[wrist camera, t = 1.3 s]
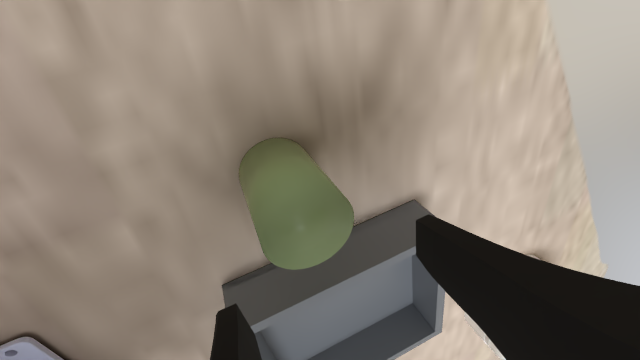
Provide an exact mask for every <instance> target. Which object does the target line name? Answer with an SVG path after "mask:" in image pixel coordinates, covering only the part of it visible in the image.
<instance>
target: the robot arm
mask: <svg viewBox="0 0 640 360" xmlns="http://www.w3.org/2000/svg"><path fill="white" fill-rule="evenodd" d="M416 256H417V257H418V259H419V260H420V262H421V263H422V264H423V266H424V267H425V268H426V270H427V271H428V272H429V274H430V275H431V276H432V277H433V278H434V280H435V281H436V282H437V283H438V284H439V285H440V286H441V287H442V288H443V289H444V290H445V291H446V292H447V293H448V295H449V296H450V297H451V298H452V299H453V300H454V301H455V302H456V303H457V304H458V305H459V306H460V307H461V308H462V309H463V310H464V311H465V312H466V313H467V314H468V315H469V316H470V318H471V319H472V320H473V321H474V322H475V323H476V324H477V325H478V326H479V327H480V328H481V329H482V331H483V332H484V333H485V334H486V335H487V336H488V338H489V339H490V340H491V341H492V343H493V344H494V345H495V346H496V348H497V349H498V350H499V351H500V353H501V354H502V355H503V356H504V358H505V359H506V360H640V286H636V285H631V284H627V283H623V282H618V281H614V280H610V279H605V278H601V277H597V276H594V275H590V274H586V273H582V272H578V271H575V270H571V269H568V268H564V267H561V266H558V265H554V264H551V263H548V262H545V261H542V260H539V259H536V258H533V257H530V256H527V255H524V254H522V253H519V252H516V251H514V250H511V249H508V248H506V247H503V246H501V245H498V244H496V243H493V242H491V241H488V240H486V239H484V238H481V237H479V236H477V235H474V234H472V233H470V232H467V231H465V230H463V229H461V228H459V227H456V226H454V225H452V224H450V223H448V222H445V221H443V220H441V219H439V218H437V217H434V216H432V215H430V214H428V215H426V216H424V217H421V218H419V219H417V220H416ZM0 360H64V359H62V358H61V357H59V356H58V355H56V354H55V353H54V352H52V351H51V350H49V349H48V348H46V347H45V346H43V345H42V344H41V343H39V342H38V341H36V340H35V339H33V338H31V337H21V338H18V339H15V340H13V341H10V342H8V343H6V344H3V345H1V346H0ZM210 360H262V358H261V354H260V350H259V347H258V343H257V340H256V336H255V334H254V332H253V330H252V329H251V327H250V325H249V324H248V322H247V320H246V319H245V317H244V315H243V314H242V312H241V310H240V309H239V307H238V305H237V304H236V303H235V304H233V305H231V306H229V307H227V308H225V309H222V310H220V311H218V313H217V315H216V324H215V332H214V339H213V345H212V351H211V357H210Z"/></svg>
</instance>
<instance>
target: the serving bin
mask: <svg viewBox="0 0 640 360" xmlns="http://www.w3.org/2000/svg"><path fill="white" fill-rule="evenodd" d="M428 214H430V215H432V216H434V215H433V214H431V213H430V212H429V211H428V210H427V209H425V208H424V207H423V206H422V205H421V204H419V203H418V202H417V201H416V200H413V201H410V202H408V203H406V204H404V205H401V206H399V207H397V208H395V209H392V210H390V211H388V212H386V213H383V214H381V215H379V216H377V217H375V218H372V219H370V220H368V221H366V222H363V223H361V224H359V225H357V226H354V227H353V228H352V231H351V233H350V236H349V238H348V239H347V241H346V242H345V244H344V245H343V246H342V247H341V248H340V250H339V251H338V252H336V253H335V254H334V255H333V256H332V257H330V258H329V259H327V260H326V261H324V262H322V263H320V264H318V265H315V266H313V267H309V268H305V269H298V270H291V269H285V268H281V267H278V266H276V265H274V264H273V263H271V264H269V265H267V266H265V267H262V268H260V269H258V270H256V271H253V272H251V273H249V274H247V275H244V276H242V277H240V278H238V279H235V280H233V281H231V282H229V283H227V284H224V285H222V288H223V295H224V302H225V308H227V307H229V306H231V305H233V304H235V303H236V304H237V305H238V307H239V309H240V310H241V312H242V314H243V315H244V317H245V319H246V320H247V322H248V324H249V325H250V327H251V329H252V330H253V332H254V334H255V336H256V340H257V343H258V347H259V350H260V354H261V358H262V360H394V359H396V358H398V357H399V356H401V355H403V354H405V353H406V352H408V351H410V350H412V349H413V348H415V347H417V346H419V345H420V344H422V343H424V342H426V341H427V340H429V339H431V338H432V337H434V336H436V335H438V334H439V333H441V332H442V323H443V311H444V299H445V290H444V289H443V288H442V287H441V286H440V285H439V284H438V283H437V282H436V281H435V280H434V278H433V277H432V276H431V275H430V274H429V272H428V271H427V270H426V268H425V267H424V266H423V264H422V263H421V262H420V260H419V259H418V257H417V256H416V220H417V219H419V218H421V217H424V216H426V215H428ZM434 217H435V216H434Z"/></svg>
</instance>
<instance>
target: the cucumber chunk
mask: <svg viewBox="0 0 640 360" xmlns="http://www.w3.org/2000/svg"><path fill="white" fill-rule="evenodd" d="M239 181H240V184H241V187H242V190H243V193H244V196H245V199H246V202H247V205H248V208H249V211H250V214H251V217H252V220H253V223H254V226H255V229H256V232H257V235H258V238H259V241H260V244H261V247H262V250H263V253H264V254H265V256H266V257H267V259H268V260H269V261H270V262H272V263H273V264H274V265H276V266H278V267H281V268H285V269H291V270H298V269H305V268H309V267H313V266H315V265H318V264H320V263H322V262H324V261H326V260H327V259H329V258H330V257H332V256H333V255H334V254H335V253H336V252H338V251H339V250H340V248H341V247H342V246H343V245H344V244H345V242H346V241H347V239H348V238H349V236H350V233H351V231H352V228H353V224H354V212H353V208H352V206H351V204H350V202H349V201H348V200H347V198H346V197H345V196H344V195H343V194H342V193H341V192H340V190H339V189H338V188H337V187H336V186H335V185H334V183H333V182H332V181H331V180H330V179H329V178H328V177H327V175H326V174H325V173H324V172H323V171H322V170H321V168H320V167H319V166H318V165H317V164H316V163H315V162H314V160H313V159H312V158H311V157H310V156H309V155H308V153H307V152H306V151H305V150H304V149H303V148H302V147H301V146H300V145H299V144H298V143H296V142H294V141H292V140H289V139H285V138H272V139H267V140H264V141H262V142H260V143H258V144H256V145H255V146H254V147H252V148H251V149H250V150H249V151H248V152H247V153H246V155H245V156H244V158H243V159H242V162H241V164H240V168H239Z"/></svg>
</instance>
